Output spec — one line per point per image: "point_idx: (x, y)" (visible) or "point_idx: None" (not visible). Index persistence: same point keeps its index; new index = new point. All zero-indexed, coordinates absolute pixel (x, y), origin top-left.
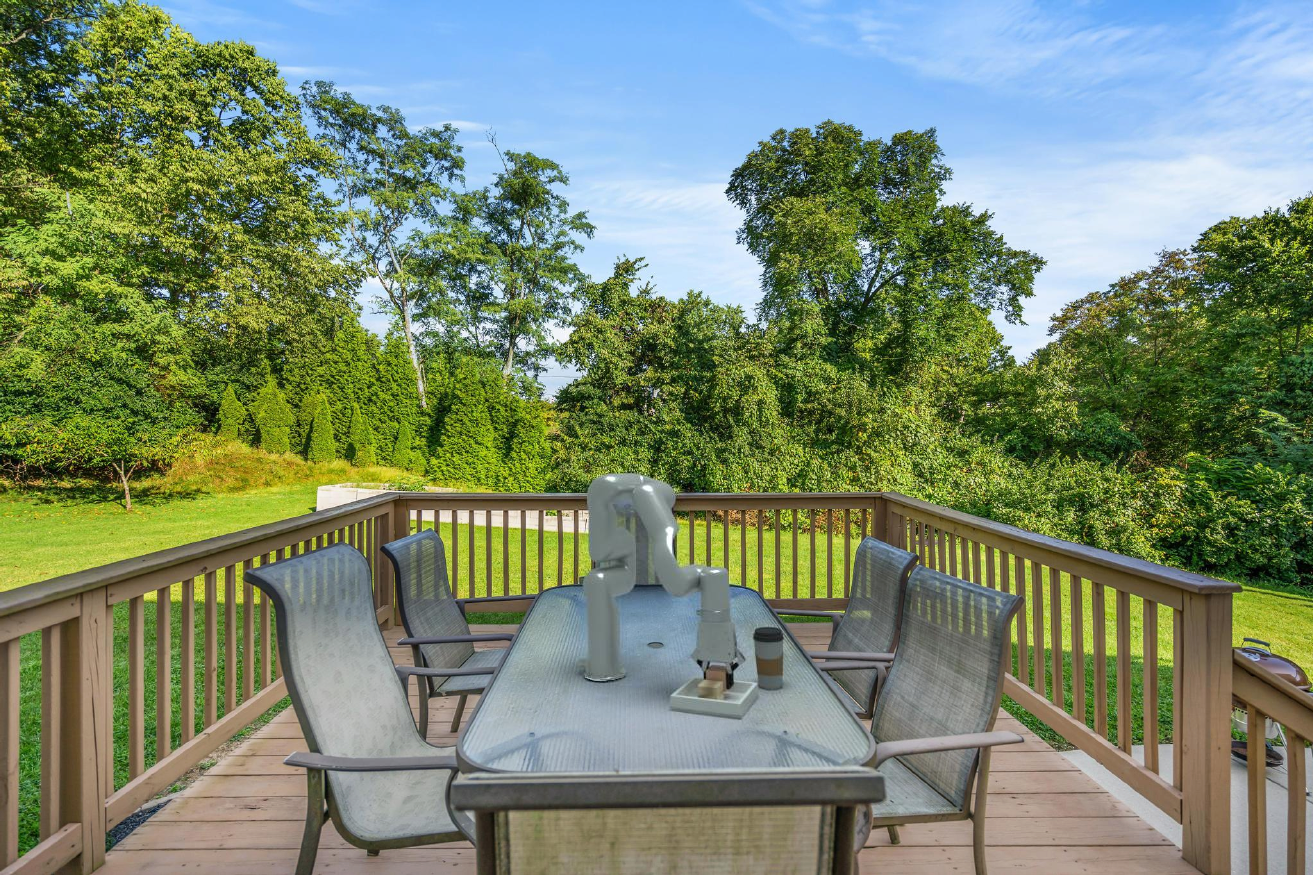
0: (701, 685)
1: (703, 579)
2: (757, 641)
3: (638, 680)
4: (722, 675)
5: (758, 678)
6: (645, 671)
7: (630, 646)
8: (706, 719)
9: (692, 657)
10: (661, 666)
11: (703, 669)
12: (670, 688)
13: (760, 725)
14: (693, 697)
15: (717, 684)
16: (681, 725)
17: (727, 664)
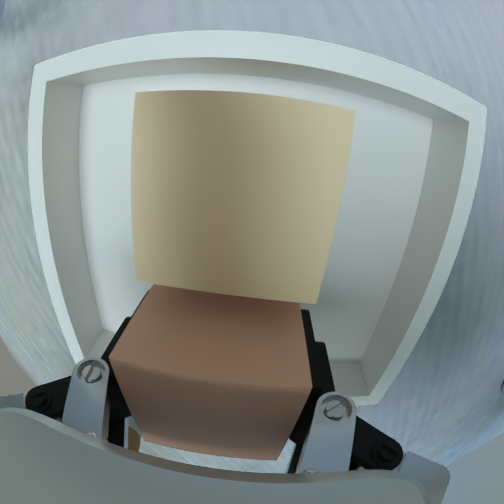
0: (316, 124)
1: None
2: None
3: (496, 364)
4: (140, 338)
5: (131, 417)
6: (465, 410)
7: (448, 460)
8: (234, 9)
9: (435, 469)
10: (426, 439)
11: (337, 405)
12: (440, 347)
13: (25, 61)
14: (353, 67)
15: (155, 195)
16: None
17: (82, 421)
